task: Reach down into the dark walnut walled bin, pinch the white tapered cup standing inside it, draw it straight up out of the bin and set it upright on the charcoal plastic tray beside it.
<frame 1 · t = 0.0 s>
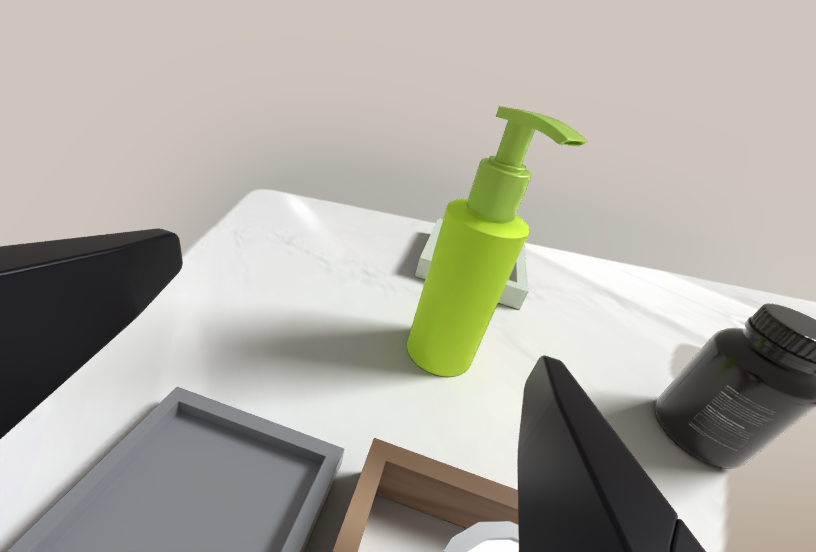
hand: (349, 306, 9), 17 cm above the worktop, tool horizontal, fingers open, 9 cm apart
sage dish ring: (471, 267, 46), on the worktop
supplement bottle: (692, 432, 31), on the worktop
soap dispenser: (442, 356, 32), on the worktop
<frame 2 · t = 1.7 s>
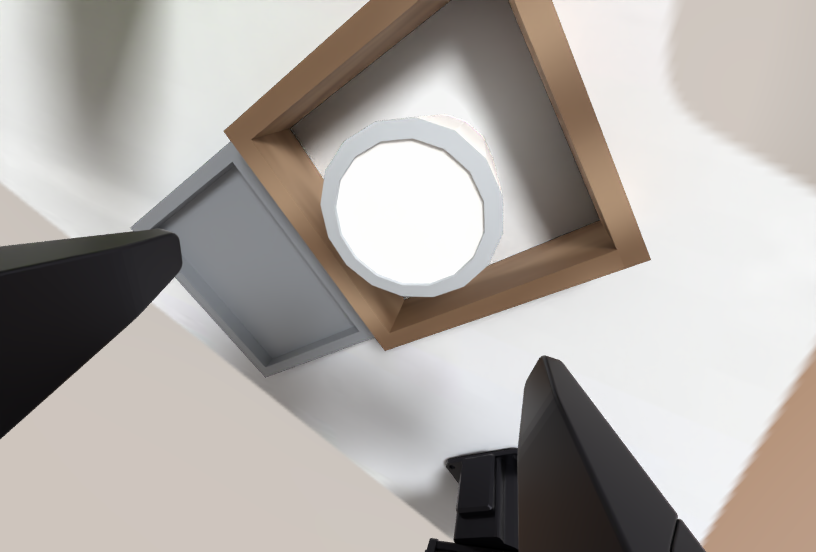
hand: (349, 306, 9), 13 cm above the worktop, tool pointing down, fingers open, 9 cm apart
white tapered cup: (439, 171, 19), resting in walnut bin
charcoal tray: (264, 271, 25), on the worktop
walnut bin: (438, 172, 19), on the worktop
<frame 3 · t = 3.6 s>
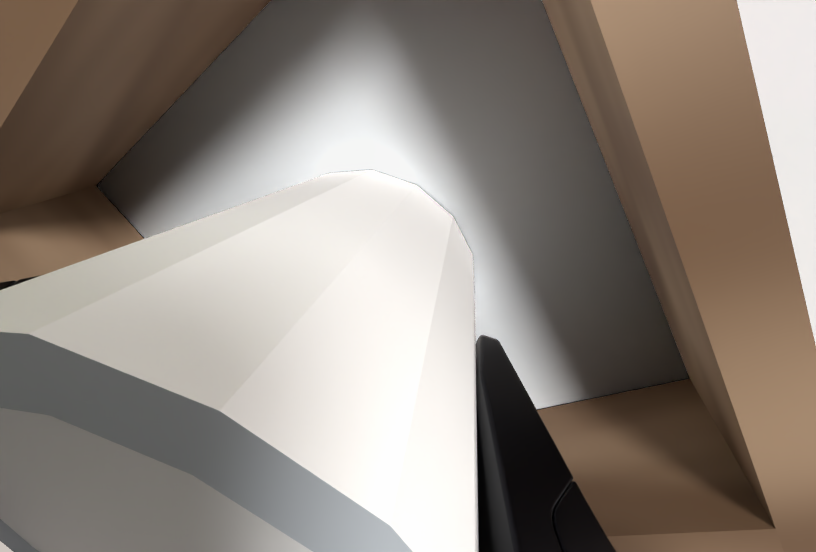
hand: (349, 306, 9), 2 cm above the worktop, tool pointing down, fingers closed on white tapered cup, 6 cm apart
white tapered cup: (372, 271, 10), resting in walnut bin, touching gripper
walnut bin: (370, 274, 10), on the worktop
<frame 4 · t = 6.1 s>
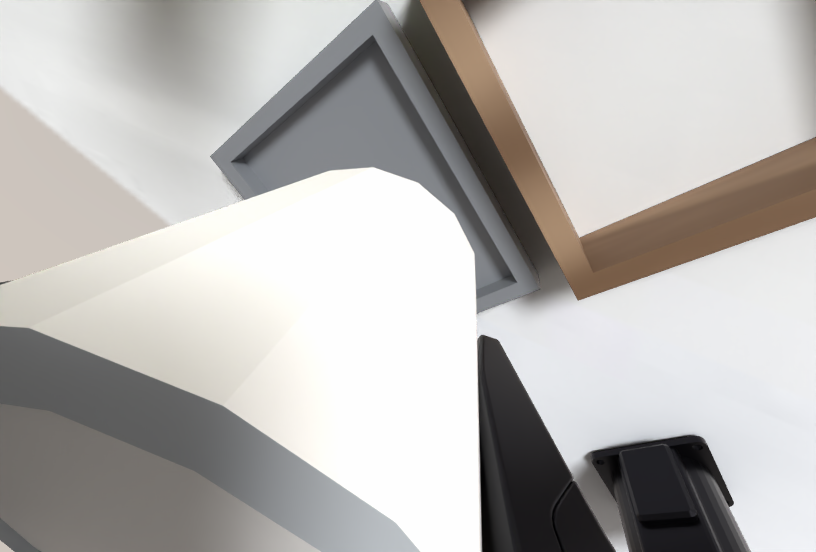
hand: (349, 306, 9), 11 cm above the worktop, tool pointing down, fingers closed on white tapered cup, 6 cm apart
white tapered cup: (373, 269, 10), point 9 cm above the worktop, touching gripper
charcoal tray: (381, 211, 19), on the worktop
walnut bin: (681, 30, 13), on the worktop
when the fingers open (3 cm above the worktop, at t = 8.7 s): white tapered cup stays where it is, resting on charcoal tray.
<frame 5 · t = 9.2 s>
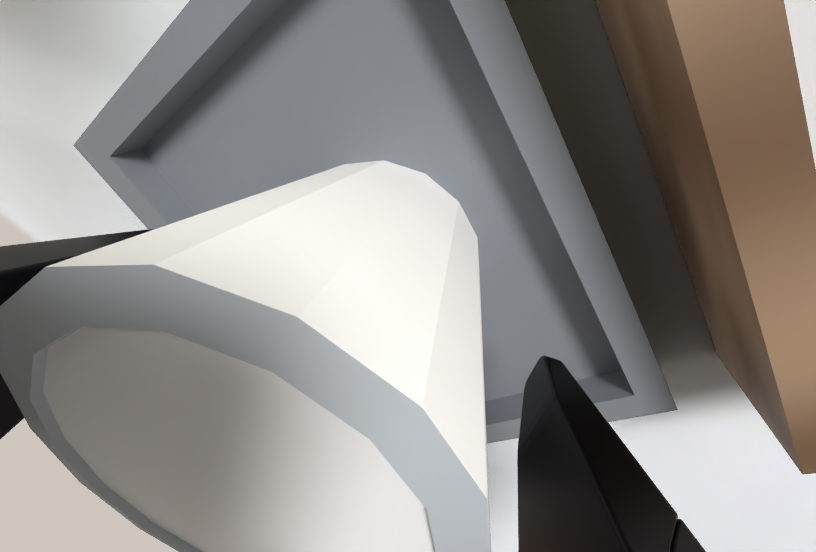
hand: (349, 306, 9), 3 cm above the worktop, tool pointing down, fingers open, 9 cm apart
white tapered cup: (384, 255, 11), resting on charcoal tray
charcoal tray: (385, 250, 11), on the worktop
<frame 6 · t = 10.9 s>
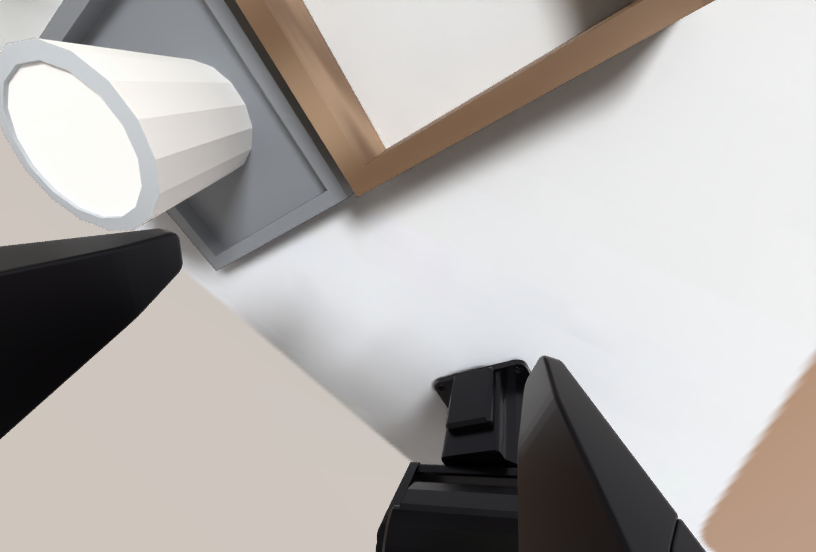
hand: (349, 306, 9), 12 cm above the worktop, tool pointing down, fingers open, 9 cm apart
white tapered cup: (207, 120, 20), resting on charcoal tray
charcoal tray: (209, 119, 20), on the worktop
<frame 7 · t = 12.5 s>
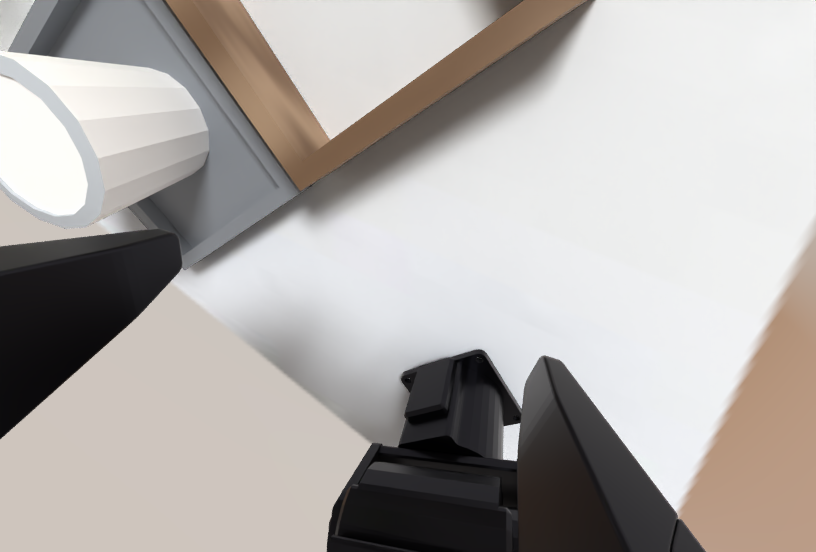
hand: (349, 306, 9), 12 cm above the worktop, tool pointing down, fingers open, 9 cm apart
white tapered cup: (167, 125, 21), resting on charcoal tray
charcoal tray: (170, 124, 21), on the worktop
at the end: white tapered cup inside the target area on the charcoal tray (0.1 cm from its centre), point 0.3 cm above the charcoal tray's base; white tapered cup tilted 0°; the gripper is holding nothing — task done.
